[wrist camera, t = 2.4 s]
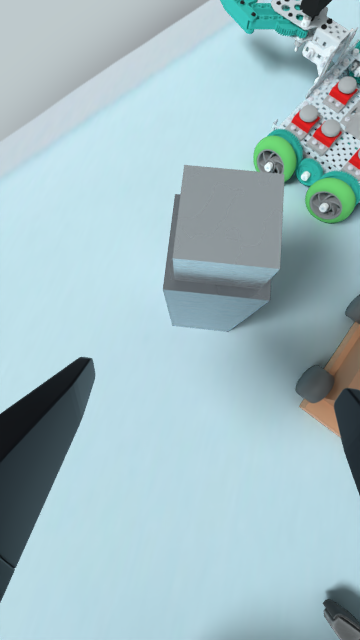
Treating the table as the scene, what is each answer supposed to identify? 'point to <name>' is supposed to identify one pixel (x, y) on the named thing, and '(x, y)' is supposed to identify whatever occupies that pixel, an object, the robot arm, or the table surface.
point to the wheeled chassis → (333, 375)
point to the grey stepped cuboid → (223, 246)
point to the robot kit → (314, 106)
